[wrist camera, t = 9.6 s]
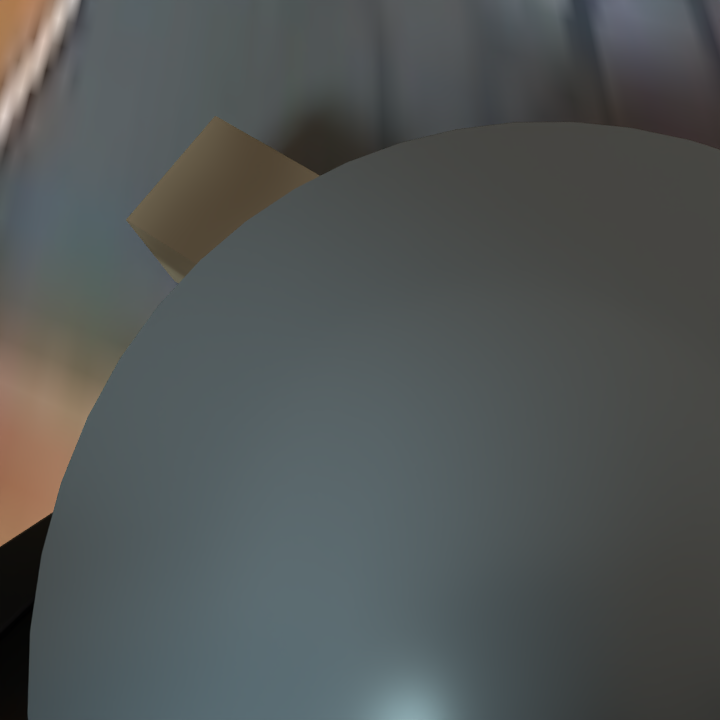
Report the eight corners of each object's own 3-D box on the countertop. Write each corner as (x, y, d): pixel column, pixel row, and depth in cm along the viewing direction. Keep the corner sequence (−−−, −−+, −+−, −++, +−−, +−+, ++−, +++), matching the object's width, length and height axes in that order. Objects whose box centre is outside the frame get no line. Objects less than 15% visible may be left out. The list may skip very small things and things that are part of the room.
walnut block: (338, 248, 20) (329, 181, 16) (269, 341, 19) (243, 294, 15) (244, 193, 21) (215, 115, 17) (174, 280, 20) (125, 219, 16)
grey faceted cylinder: (609, 507, 16) (1323, 441, 4) (471, 763, 14) (978, 1948, 2) (385, 364, 17) (415, -12, 5) (235, 584, 16) (-219, 765, 4)
